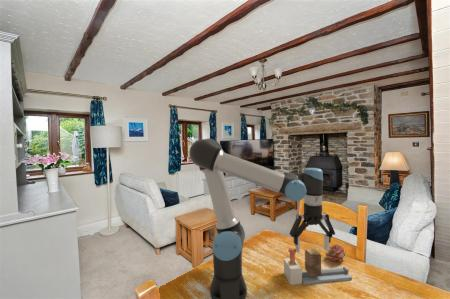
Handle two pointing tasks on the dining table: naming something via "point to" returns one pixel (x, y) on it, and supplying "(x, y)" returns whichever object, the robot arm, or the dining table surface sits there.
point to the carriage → (312, 262)
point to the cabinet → (293, 272)
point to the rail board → (327, 276)
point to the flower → (335, 253)
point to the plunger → (292, 255)
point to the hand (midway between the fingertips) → (311, 250)
